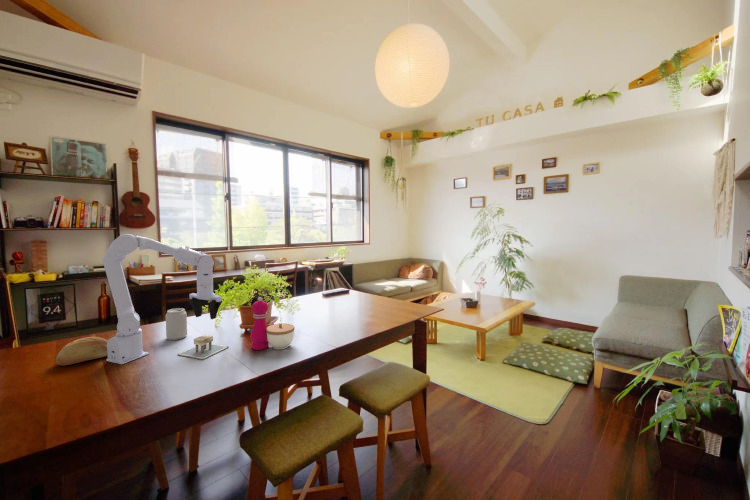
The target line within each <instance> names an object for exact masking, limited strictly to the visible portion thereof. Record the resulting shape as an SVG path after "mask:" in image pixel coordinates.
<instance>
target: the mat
mask: <svg viewBox="0 0 750 500" xmlns="http://www.w3.org/2000/svg"><path fill="white" fill-rule="evenodd" d="M227 349H229V345H228V346H226V345H222V344H221V345H220V344H215V343H212V349H209V343H207V344H206V348H205V349H204V353H201V345H198V352H196V345H195V346H192V347H191V348H188V349H186V350H184V351H181V352H179V353H177V356H180V357H186V358H190V359H196V360H200V361H205V360H206V359H208V358H210V357H213V356H214V355H216V354H218V353H220V352H223V351H225V350H227Z"/></svg>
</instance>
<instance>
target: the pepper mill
mask: <svg viewBox="0 0 750 500" xmlns="http://www.w3.org/2000/svg"><path fill="white" fill-rule="evenodd" d="M268 310H269V304H268V303H267V301H264V300H263V297H261V296H259V297H257V301H254V302H253V304H252V305H251V311H252V312H253V314H252V315H253V320H254V323H253V327H252V328H251V332H250V334H249V335H250V337H249V338H250V340H251V342H252V343H251V349H252V350H254V351H255V350H256V351H259V350H260V351H261V350H265V349H267V348H268V347H269V343H268V340H267V332H266V328H267V327H268V326H267V323H266V322H267V321H266V320H267V319H266V318H267V317H268V313H267V312H268Z"/></svg>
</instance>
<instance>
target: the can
mask: <svg viewBox="0 0 750 500" xmlns="http://www.w3.org/2000/svg"><path fill="white" fill-rule="evenodd" d="M164 315H165V337H166V339H168V340H169V341H177V340H178V339H179V340H182V339H184V338H186V336H187V335H188V321H187V320H188V315H187V311H186V309H185V308H183V307H182V308H180V307H178V308H177V307H176V308H171V309H167V311H166V314H164Z"/></svg>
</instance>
